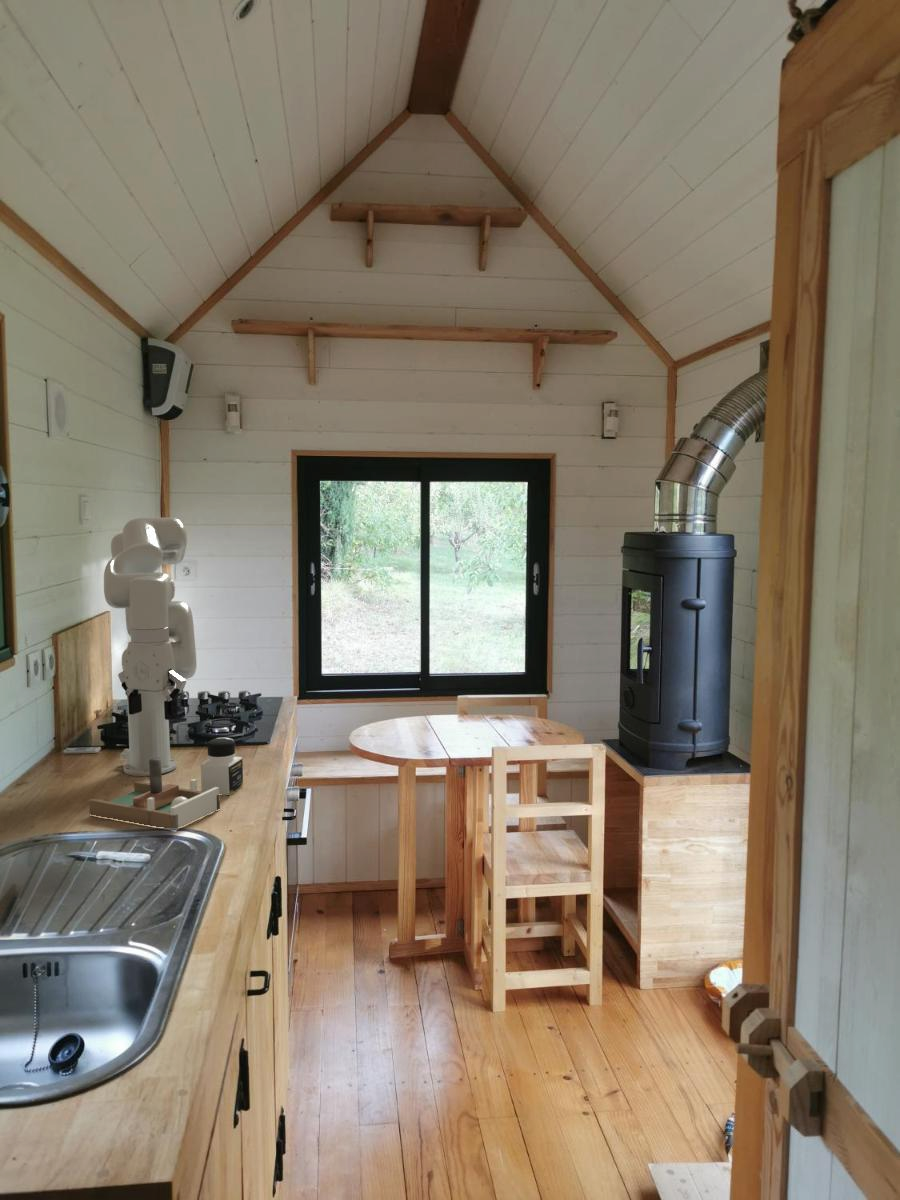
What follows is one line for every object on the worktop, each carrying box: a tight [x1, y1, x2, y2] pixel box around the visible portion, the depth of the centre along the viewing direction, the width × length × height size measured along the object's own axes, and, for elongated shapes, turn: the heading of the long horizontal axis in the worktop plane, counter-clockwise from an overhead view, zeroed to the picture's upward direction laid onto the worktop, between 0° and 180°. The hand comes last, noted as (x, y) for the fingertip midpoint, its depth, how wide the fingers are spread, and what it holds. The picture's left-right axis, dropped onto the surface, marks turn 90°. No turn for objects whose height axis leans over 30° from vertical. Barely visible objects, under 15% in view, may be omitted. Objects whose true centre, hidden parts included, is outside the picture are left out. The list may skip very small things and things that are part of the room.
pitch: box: [88, 778, 221, 828], centre depth 186 cm, size 23×14×6 cm, turn 66°
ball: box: [171, 796, 188, 807], centre depth 183 cm, size 4×4×4 cm
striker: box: [133, 758, 180, 809], centre depth 185 cm, size 3×10×10 cm, turn 156°
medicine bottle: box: [200, 737, 244, 796], centre depth 200 cm, size 7×7×12 cm
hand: (153, 715), depth 184 cm, fingers open, 9 cm apart
